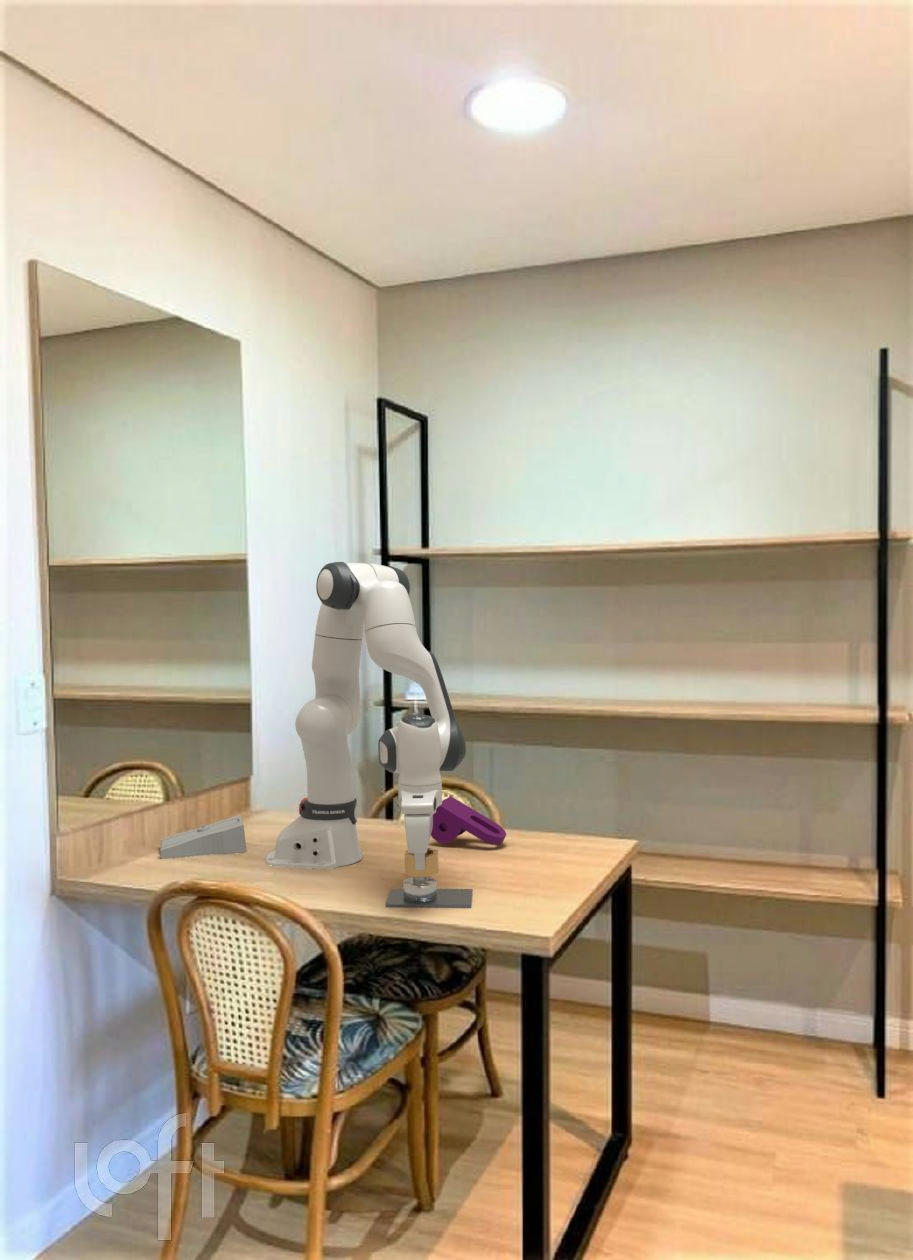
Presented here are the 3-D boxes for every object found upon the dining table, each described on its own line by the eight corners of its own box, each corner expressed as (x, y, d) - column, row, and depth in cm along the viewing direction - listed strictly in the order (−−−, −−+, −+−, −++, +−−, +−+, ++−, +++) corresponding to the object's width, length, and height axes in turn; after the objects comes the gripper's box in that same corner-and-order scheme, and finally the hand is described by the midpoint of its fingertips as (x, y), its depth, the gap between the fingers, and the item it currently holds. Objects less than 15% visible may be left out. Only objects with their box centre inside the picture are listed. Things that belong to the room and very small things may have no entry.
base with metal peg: (385, 909, 194) (384, 864, 193) (391, 893, 204) (390, 850, 203) (471, 909, 193) (470, 864, 192) (472, 893, 203) (472, 850, 202)
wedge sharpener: (246, 853, 237) (246, 824, 236) (160, 860, 231) (160, 831, 231) (243, 841, 247) (243, 814, 247) (161, 848, 242) (160, 820, 241)
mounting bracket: (497, 860, 247) (437, 823, 252) (511, 831, 245) (450, 795, 250) (484, 870, 238) (423, 832, 243) (499, 841, 236) (436, 803, 242)
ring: (404, 876, 195) (403, 857, 195) (407, 867, 202) (406, 847, 201) (437, 876, 195) (436, 856, 194) (439, 866, 201) (438, 847, 201)
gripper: (409, 785, 208) (410, 849, 208) (399, 807, 187) (401, 878, 188) (438, 785, 208) (440, 849, 208) (432, 807, 187) (434, 878, 188)
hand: (421, 863), depth 198 cm, fingers closed on ring, 6 cm apart
